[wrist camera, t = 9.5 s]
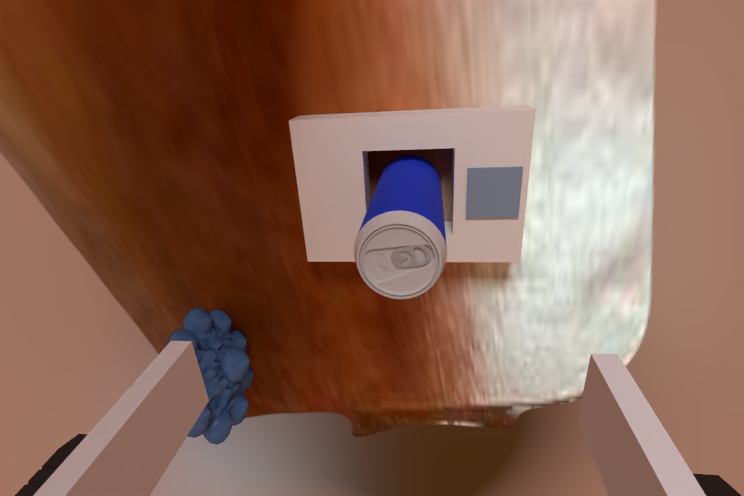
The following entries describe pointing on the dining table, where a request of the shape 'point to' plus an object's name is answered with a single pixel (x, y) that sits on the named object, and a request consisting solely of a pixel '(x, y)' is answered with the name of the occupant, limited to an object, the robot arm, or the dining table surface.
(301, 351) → the dining table surface
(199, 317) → the grapes
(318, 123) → the socket board
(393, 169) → the beverage can
